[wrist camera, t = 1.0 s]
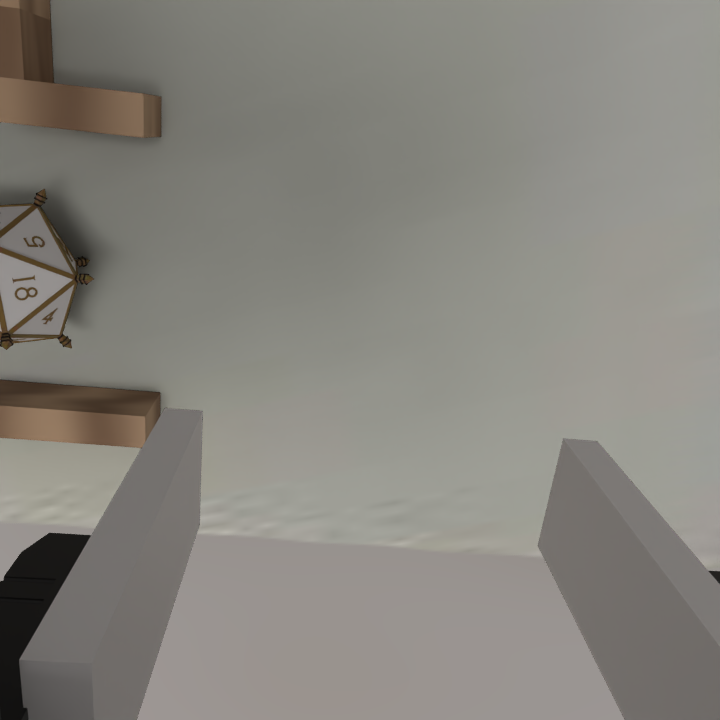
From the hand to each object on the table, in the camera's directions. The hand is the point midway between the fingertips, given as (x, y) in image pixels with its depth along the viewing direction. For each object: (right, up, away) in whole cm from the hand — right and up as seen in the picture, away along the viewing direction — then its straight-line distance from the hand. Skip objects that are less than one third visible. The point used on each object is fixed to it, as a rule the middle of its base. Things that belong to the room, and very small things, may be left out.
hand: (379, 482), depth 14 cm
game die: (-19, +8, +23) cm, 31 cm away
